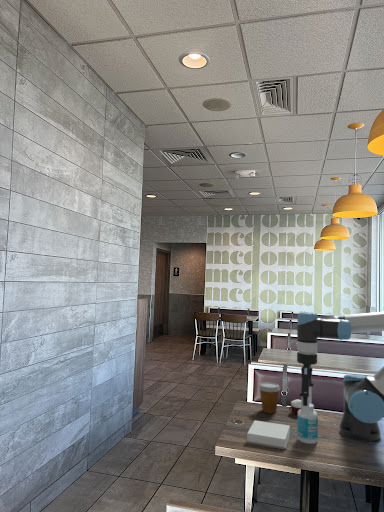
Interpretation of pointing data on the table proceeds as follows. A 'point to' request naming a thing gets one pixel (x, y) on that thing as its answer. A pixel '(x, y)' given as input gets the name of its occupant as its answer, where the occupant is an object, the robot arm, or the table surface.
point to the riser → (269, 434)
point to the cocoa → (295, 406)
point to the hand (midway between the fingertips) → (306, 408)
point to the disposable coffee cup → (269, 396)
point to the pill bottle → (308, 426)
